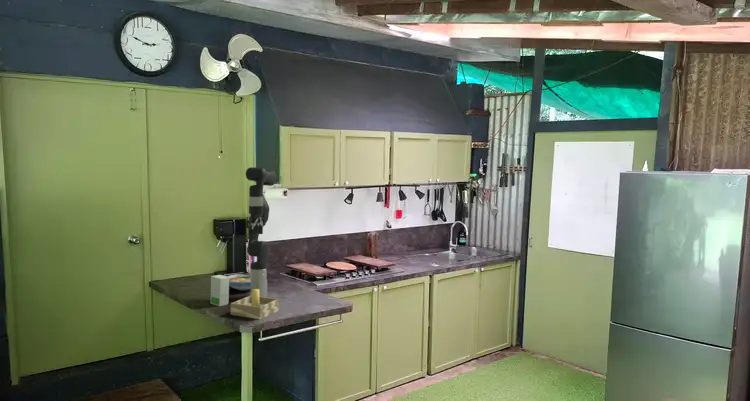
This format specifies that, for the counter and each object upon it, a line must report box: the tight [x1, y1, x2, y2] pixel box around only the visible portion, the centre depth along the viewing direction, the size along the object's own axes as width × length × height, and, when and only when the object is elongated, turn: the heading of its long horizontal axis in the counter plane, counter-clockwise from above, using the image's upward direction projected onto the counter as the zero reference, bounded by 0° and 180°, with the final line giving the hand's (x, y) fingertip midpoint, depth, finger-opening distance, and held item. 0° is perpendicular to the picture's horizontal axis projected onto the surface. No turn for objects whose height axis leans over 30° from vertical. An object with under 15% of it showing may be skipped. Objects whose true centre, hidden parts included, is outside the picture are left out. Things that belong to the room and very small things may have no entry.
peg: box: [252, 289, 260, 307], centre depth 275 cm, size 4×4×12 cm
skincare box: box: [210, 274, 230, 307], centre depth 289 cm, size 8×7×16 cm
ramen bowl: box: [227, 272, 269, 292], centre depth 323 cm, size 25×23×8 cm
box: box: [230, 295, 281, 320], centre depth 275 cm, size 18×18×6 cm
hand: (255, 235), depth 279 cm, fingers open, 8 cm apart
